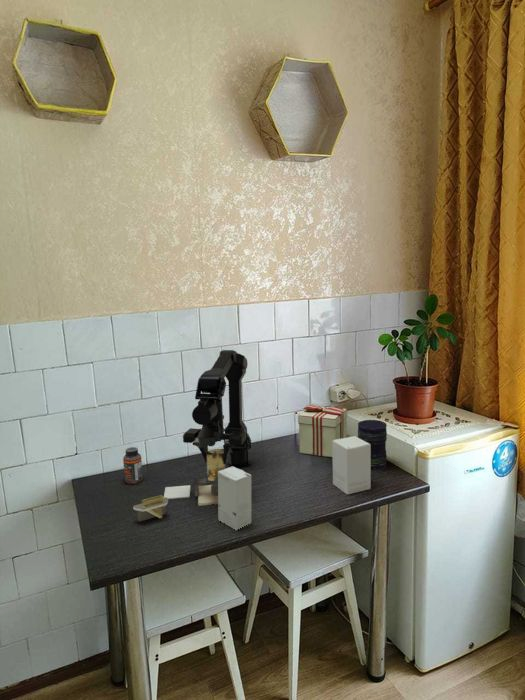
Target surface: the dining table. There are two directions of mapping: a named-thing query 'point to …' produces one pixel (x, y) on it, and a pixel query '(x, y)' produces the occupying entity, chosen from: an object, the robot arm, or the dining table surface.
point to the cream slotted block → (206, 492)
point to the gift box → (321, 429)
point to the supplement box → (351, 464)
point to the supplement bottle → (132, 466)
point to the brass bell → (214, 463)
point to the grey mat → (177, 492)
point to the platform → (151, 508)
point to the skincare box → (234, 497)
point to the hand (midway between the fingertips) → (216, 463)
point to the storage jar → (374, 441)
